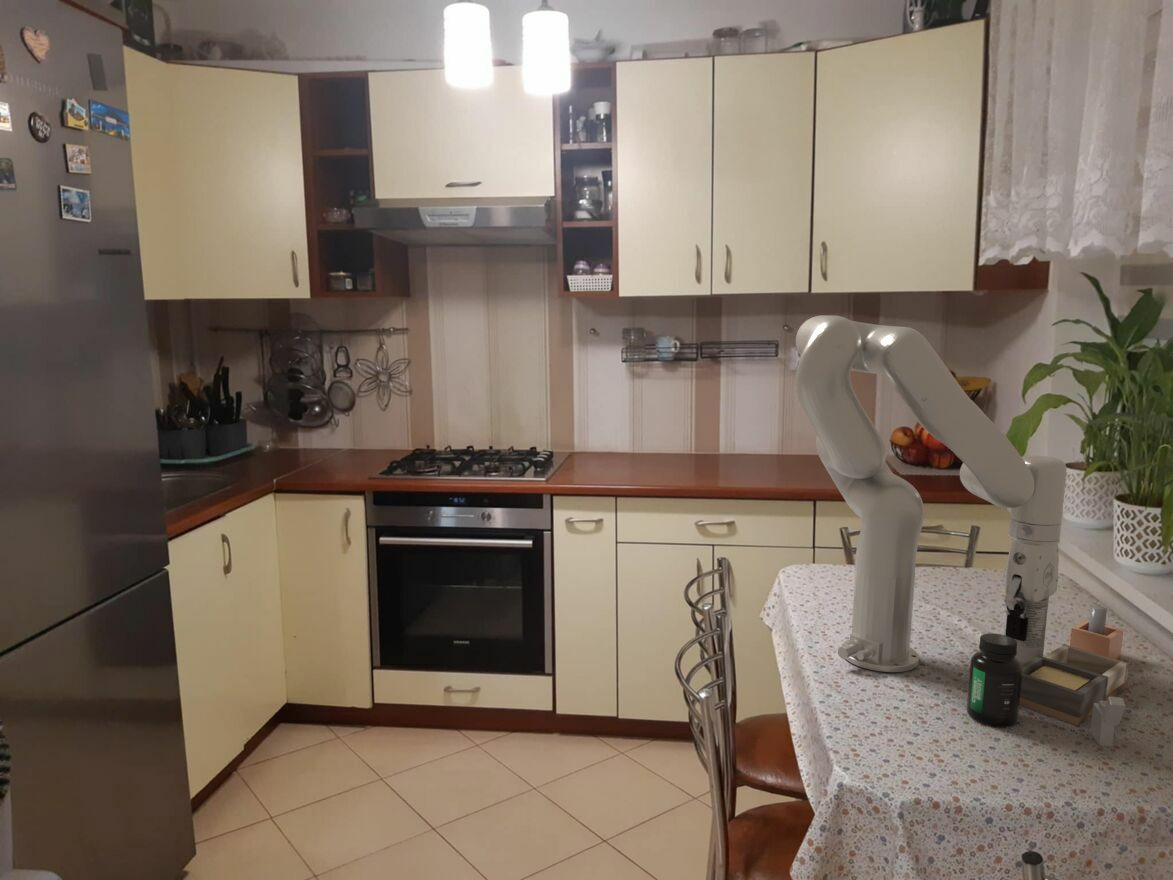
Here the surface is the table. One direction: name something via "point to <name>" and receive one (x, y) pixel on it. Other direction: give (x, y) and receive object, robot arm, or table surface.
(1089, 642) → the square terracotta planter
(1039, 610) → the energy drink can
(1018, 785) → the table surface
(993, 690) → the supplement bottle
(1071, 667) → the wooden tray
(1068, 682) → the khaki flat square slab
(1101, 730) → the grey notched block
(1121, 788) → the table surface
